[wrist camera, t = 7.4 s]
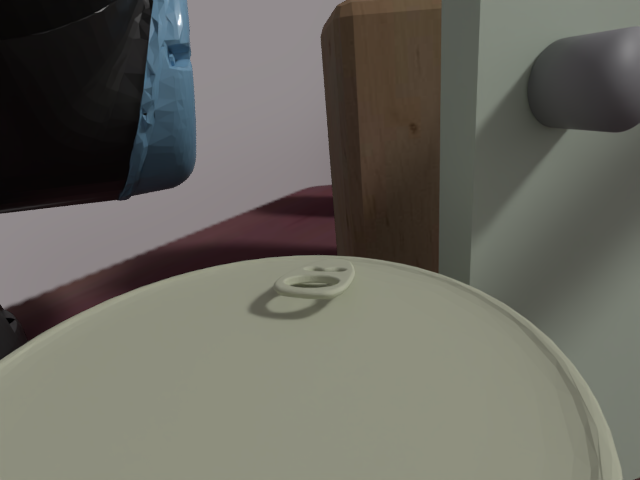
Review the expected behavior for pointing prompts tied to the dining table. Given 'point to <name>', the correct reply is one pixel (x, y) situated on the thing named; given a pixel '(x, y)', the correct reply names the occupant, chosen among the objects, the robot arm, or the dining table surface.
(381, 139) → the wooden block
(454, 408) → the can
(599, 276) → the door
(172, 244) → the dining table surface
